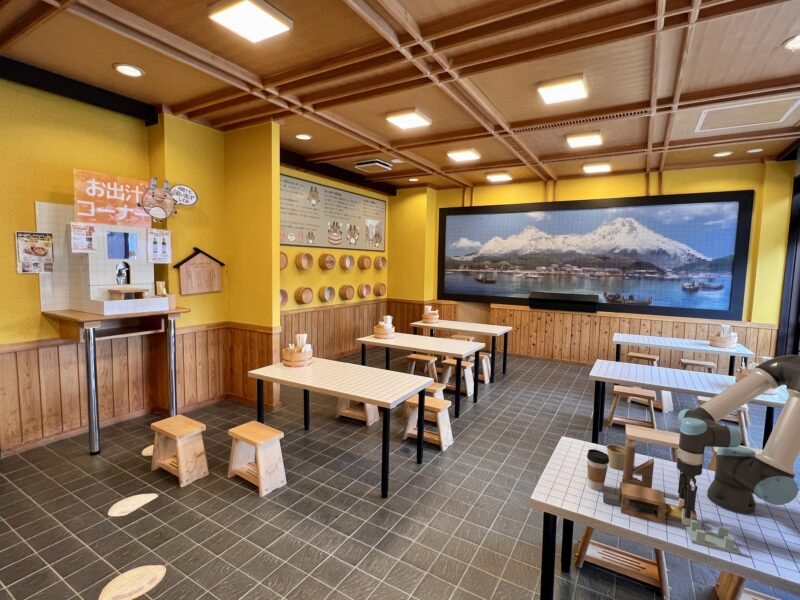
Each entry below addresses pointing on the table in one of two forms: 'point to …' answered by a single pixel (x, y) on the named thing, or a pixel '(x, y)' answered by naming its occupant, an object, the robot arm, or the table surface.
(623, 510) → the box
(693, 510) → the robot arm
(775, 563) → the table surface
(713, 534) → the cradle
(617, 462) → the flower pot
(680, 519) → the gold metallic block
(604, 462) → the coffee cup
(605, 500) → the drift bar
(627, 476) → the wooden bracket
